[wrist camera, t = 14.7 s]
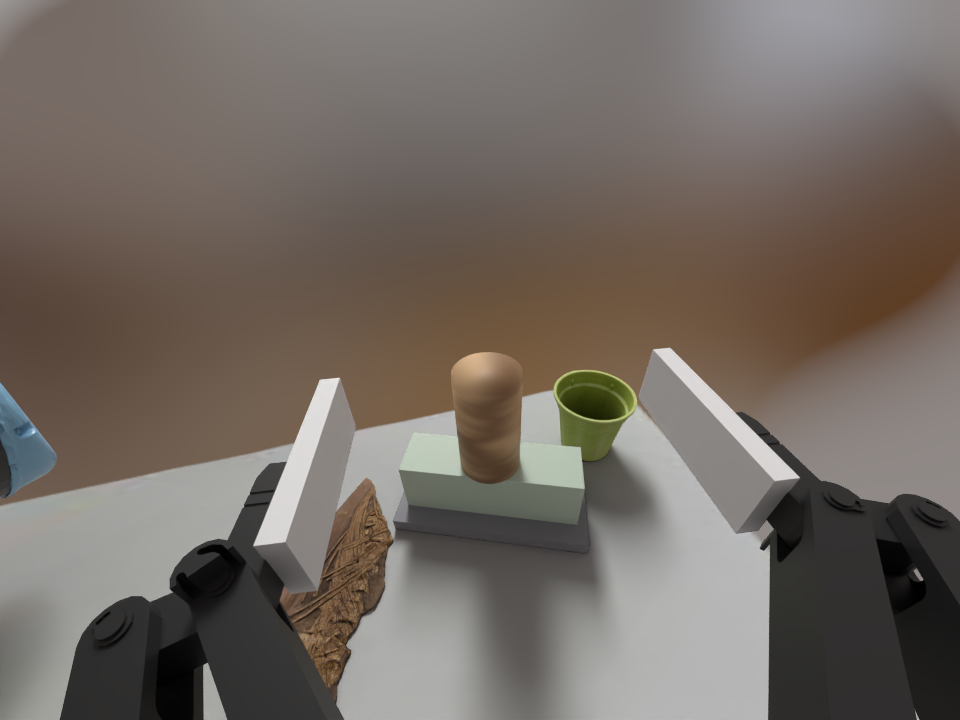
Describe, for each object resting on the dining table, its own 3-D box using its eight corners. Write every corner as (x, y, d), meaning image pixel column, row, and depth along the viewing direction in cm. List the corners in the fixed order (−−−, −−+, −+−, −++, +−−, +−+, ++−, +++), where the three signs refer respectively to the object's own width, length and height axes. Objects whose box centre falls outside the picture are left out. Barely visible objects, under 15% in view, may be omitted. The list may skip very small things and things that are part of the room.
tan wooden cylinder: (456, 481, 34) (444, 393, 28) (464, 435, 39) (457, 351, 33) (519, 486, 33) (522, 396, 27) (520, 438, 38) (523, 353, 32)
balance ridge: (395, 528, 38) (381, 485, 34) (419, 461, 46) (410, 419, 41) (587, 553, 35) (598, 509, 31) (580, 477, 43) (588, 433, 38)
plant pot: (591, 410, 52) (600, 362, 47) (639, 457, 45) (655, 405, 40) (535, 431, 49) (539, 381, 44) (576, 484, 42) (586, 432, 37)
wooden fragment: (296, 841, 22) (290, 840, 22) (149, 795, 24) (140, 793, 23) (421, 487, 43) (419, 481, 42) (337, 476, 45) (335, 471, 44)
